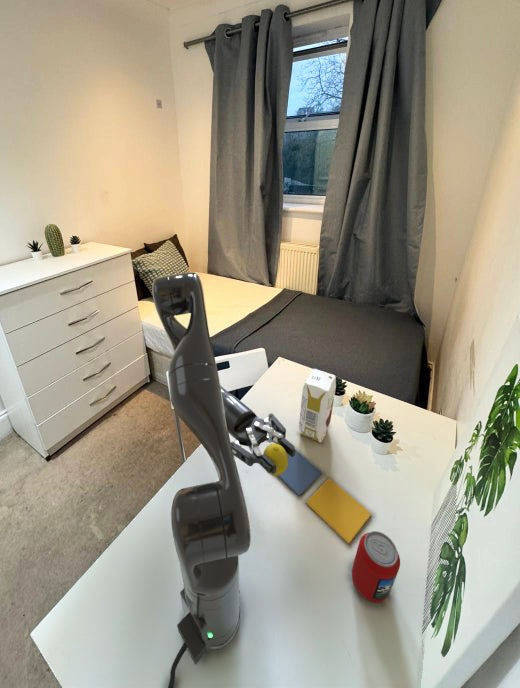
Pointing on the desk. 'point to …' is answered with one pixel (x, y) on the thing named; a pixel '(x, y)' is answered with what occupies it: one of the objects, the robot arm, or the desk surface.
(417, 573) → the desk surface
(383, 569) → the beverage can
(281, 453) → the lemon
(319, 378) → the juice carton
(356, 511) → the mustard mat
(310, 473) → the slate mat
